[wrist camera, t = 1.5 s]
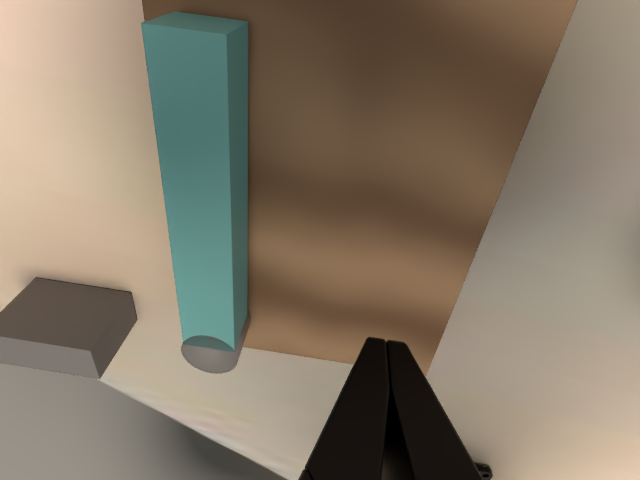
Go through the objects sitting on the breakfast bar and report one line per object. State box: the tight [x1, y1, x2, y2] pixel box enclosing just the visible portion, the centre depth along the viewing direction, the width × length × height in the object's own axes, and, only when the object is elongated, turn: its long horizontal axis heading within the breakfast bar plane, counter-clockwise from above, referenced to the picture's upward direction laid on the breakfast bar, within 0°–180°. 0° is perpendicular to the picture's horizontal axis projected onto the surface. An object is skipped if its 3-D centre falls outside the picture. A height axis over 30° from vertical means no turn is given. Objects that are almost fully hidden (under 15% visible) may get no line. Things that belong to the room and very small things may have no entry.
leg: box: [141, 11, 250, 373], centre depth 18 cm, size 16×3×2 cm, turn 174°
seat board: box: [142, 0, 578, 376], centre depth 19 cm, size 20×14×2 cm
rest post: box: [0, 278, 137, 379], centre depth 25 cm, size 2×6×4 cm, turn 84°
